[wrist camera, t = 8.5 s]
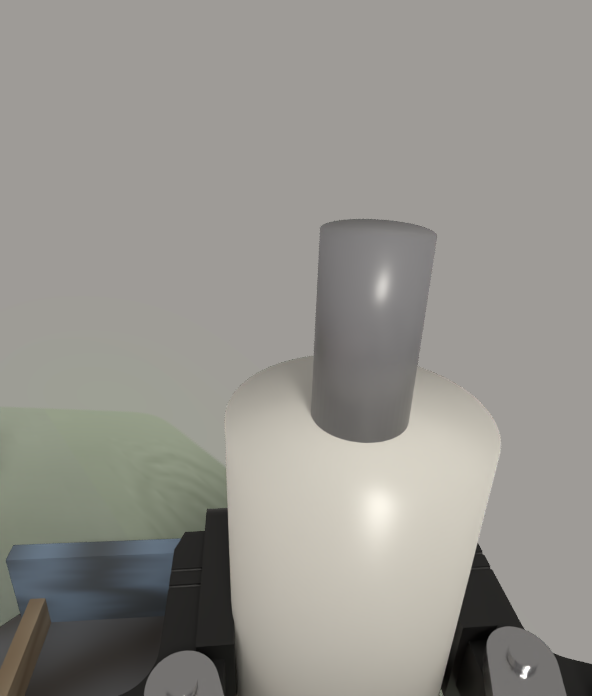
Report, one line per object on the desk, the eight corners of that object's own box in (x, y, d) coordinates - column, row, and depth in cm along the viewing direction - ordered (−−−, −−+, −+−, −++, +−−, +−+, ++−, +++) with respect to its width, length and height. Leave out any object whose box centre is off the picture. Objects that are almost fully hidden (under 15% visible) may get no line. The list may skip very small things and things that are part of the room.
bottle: (375, 715, 16) (461, 203, 9) (424, 911, 12) (637, 277, 5) (237, 732, 16) (218, 201, 9) (242, 944, 12) (215, 283, 5)
